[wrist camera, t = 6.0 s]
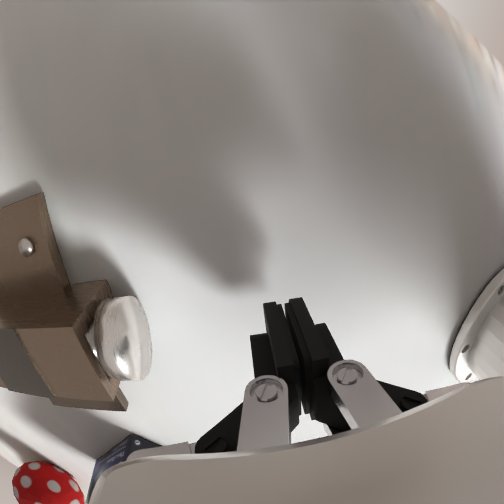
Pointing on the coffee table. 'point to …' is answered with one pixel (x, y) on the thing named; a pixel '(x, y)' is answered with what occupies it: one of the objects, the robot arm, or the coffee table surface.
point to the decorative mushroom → (45, 485)
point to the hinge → (47, 317)
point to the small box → (117, 457)
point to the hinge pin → (121, 338)
